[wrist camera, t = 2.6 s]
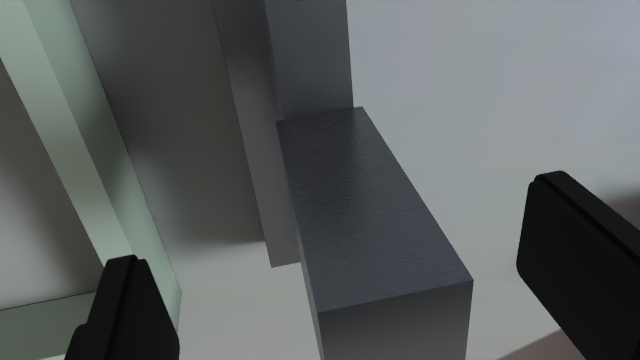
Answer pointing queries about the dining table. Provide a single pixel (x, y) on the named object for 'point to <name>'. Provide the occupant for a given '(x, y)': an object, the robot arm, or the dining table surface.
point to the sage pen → (75, 168)
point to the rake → (338, 190)
